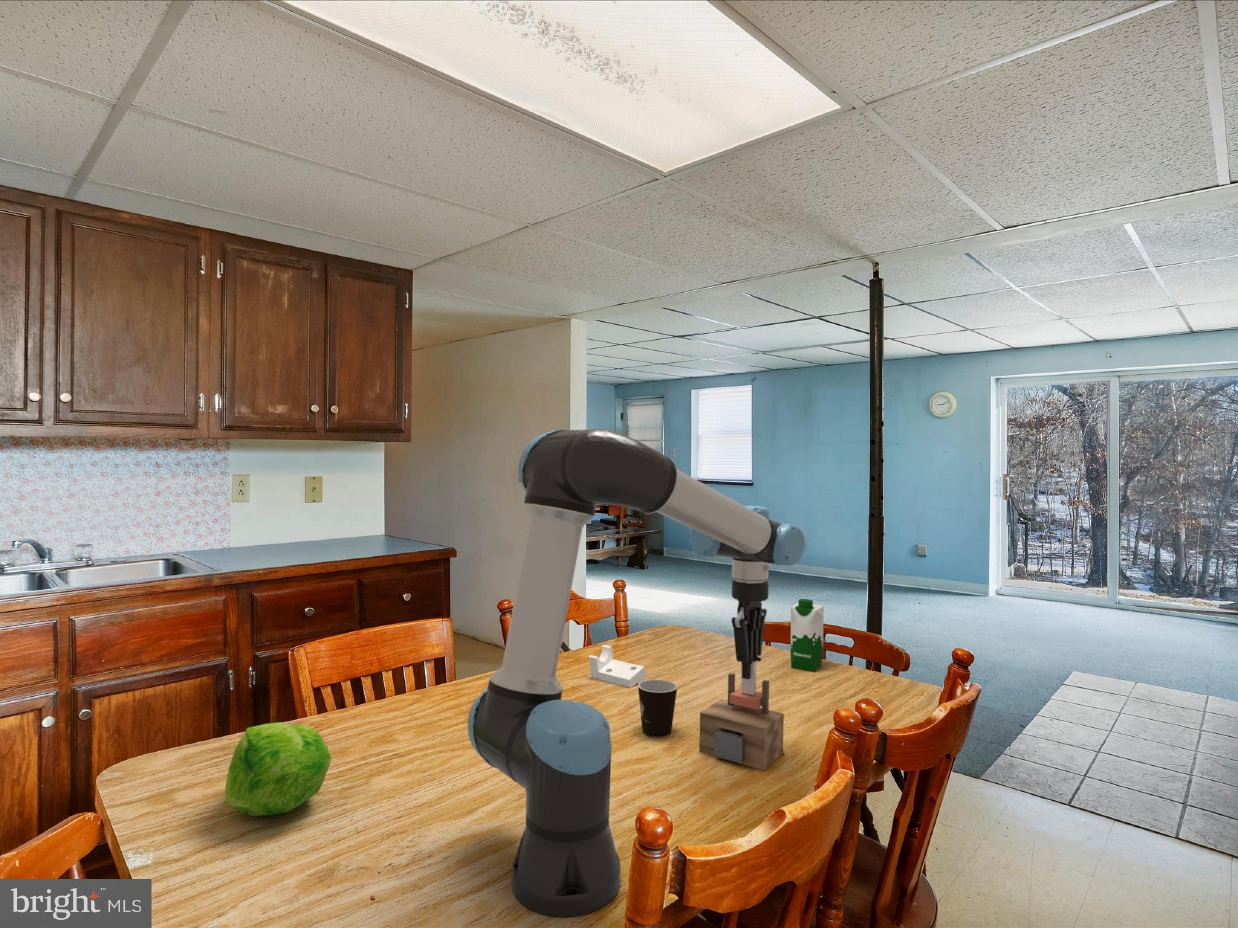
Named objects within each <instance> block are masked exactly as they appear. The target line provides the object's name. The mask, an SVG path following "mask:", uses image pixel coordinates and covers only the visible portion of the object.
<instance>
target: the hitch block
mask: <svg viewBox="0 0 1238 928" xmlns="http://www.w3.org/2000/svg"><path fill="white" fill-rule="evenodd" d="M727 677H728V678H727V680H728V681H727V699H722V698H721V699H719V700H717V701H716V702H714V703H713V704H711V705H710V706H708V707H706V708H705V709H703V710H702V711H700V712H699V743H698V744H699V748H698V749H699V752H700V753H702V754H705V755H708V756H709V755H710V756H713V757H717V758H721V759H724V760H728V761H730V762H735V763H737V764H740V765H744V766H747V767H751V768H753V769H754V768H755V769H757V770H760V771H761V770H762V771H765V770H766V769H767V768H768V767H770V765H772V763H773V762H775V761H776V760H777V759H778V758H779V757H780V756H781V755H782V754H783V753H784V720H785V719H784V715H785V713H783V712H779V711H774V710H769V709H770V708H769V707H770V706H769V703H770V702H769V700H770V680H768V679H767V680H766V679H764V680H762V682H761V693H762V706H761V707H759V708H758V709H753V708H749V707H744V706H740V705H736V704H732V703H730V694H731V693H733V692H734V691H736V690H735V689H736V674H735V673H733V672H730V673H728V674H727ZM717 729H718V730H722V731H726V732H730V733H733V732H739V733H742V734H743V736H745V758H744V762H743V763H739V762H736V761H732V760H729V759H726V758H722V757H719V756H715V755H714V731H715V730H717Z"/></svg>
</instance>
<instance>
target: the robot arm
mask: <svg viewBox="0 0 1238 928" xmlns="http://www.w3.org/2000/svg"><path fill="white" fill-rule="evenodd" d="M517 469H518V471H517V472H518V478H519V481H520V482H521V483H522V488H523V490H524V491H525V496H524V501H523V507H524V508H525V509H526V511H527V512H528V514H529V516H530V521H529V525H528V531H527V536H526V541H525V546H524V551H523V555H522V561H521V567H520V571H519V572H520V573H519V575H518V576H519V577H518V580H517V587H516V593H515V598H514V603H513V606H512V607H513V608H512V613H511V618H510V623H509V628H508V632H507V633H508V634H507V636H506V637H507V638H506V643H505V649H504V653H503V659H502V662H501V663H502V665H501V667H499V669H497V670H496V671H495V672H493V673H492V674H491V675H490V677H489V679H488V685H487V687H486V688H484V689H483V690H482V691H481V694H480V695H479V696H477V697H475V700H474V701H473V703H472V705H471V707H470V710H469V713H468V718H467V732H468V733H467V734H468V738H469V741H470V744H471V746H472V747H473V749H474V751H476V753H477V754H478V755H479V756H480V757H481V758H482V759H483V760H484V762H485V763H486V764H488V765H489V766H491V767H492V768H495V769H497V770H498V771H500V772H501V773H503V775H505V776H507V777H508V778H509V779H511V780H512V781H513V782H515V783H516V784H518V786H520V787H522V788H523V789H524V790H525V827H524V831H523V833H522V836H521V839H520V843H519V844H518V847H517V849H516V850H517V851H516V854H515V857H514V860H513V863H512V868H511V889H512V893H513V894H514V896H515V898H516V899H517V901H518V902H520V903H521V904H522V905H523V906H524V907H526V908H527V909H530V910H531V911H534V912H536V913H538V914H542V915H546V916H551V917H576V916H580V915H586V914H589V913H591V912H595V911H597V910H599V909H601V908H602V907H604V906H606V905H608V904H609V902H611V901H612V900H613V899H614V898H615V896H616V895H617V894H616V893H618V892H619V890H620V886H621V874H622V873H621V872H622V871H621V870H622V869H621V867H622V866H621V861H620V857H619V854H618V853H617V850H616V846H615V843H614V842H615V841H614V838H613V834H612V831H611V827H610V803H611V802H610V799H611V798H610V796H611V795H610V794H611V793H610V792H611V768H612V765H611V764H612V750H613V749H612V748H613V745H612V740H611V730H610V725H609V721H608V719H607V717H606V716H605V714H604V713H602V712H601V711H600V710H598V709H597V708H596V707H594V706H592V705H590V704H588V703H585V702H581V701H577V702H574V701H573V700H570V699H562V695H563V691H564V690H563V689H564V687H563V685H562V684H561V682H560V681H559V679H558V678H557V669H558V663H559V659H560V652H561V647H562V642H563V636H564V632H565V625H566V619H567V614H568V609H569V603H570V599H571V593H572V592H571V591H572V586H573V583H574V582H573V581H574V575H575V571H576V565H577V560H578V555H579V549H580V545H581V538H582V533H583V528H584V527H585V526H586V525H587V524H588V523H589V522H591V521H592V520H594V519H595V513H596V509H597V508H596V507H597V505H611V506H617V507H625V508H628V509H632V510H635V511H637V512H640V513H642V514H646V515H651V514H655V513H658V514H660V515H662V516H664V517H666V518H668V519H670V520H672V521H675V522H677V523H679V524H681V525H684V526H686V527H688V528H689V534H688V535H689V536H688V539H689V545H690V548H691V549H692V551H693V553H695V554H696V555H698V556H699V557H703V558H706V557H710V558H714V557H718V556H719V557H725V558H732V559H731V577H732V578H733V579H732V580H731V597H732V598H733V599H734V600H737V601H738V604H737V608H736V609H737V613H736V614H737V616H736V617H733V616H732V618H731V624H732V629H733V637H734V649H735V659H736V662H740V663H741V666H740V667H741V669H740V671H741V672H740V674H741V675H740V676H741V677H740V688H741V693H746V694H750V695H754V694H756V692H757V662H761V661H762V658H761V655H762V650H763V640H764V630H765V629H764V628H765V621H766V617H767V612H768V611H767V609H766V608H763V604H762V602H765V601H767V600H768V599H769V582H768V581H767V580H768V579H769V571H771V566H770V565H769V564H771V565H776V566H788V567H789V566H794V565H797V564H798V563H799V562H800V561H801V559H802V557H803V555H804V550H805V547H806V540H805V536H804V532H803V530H801V528H800V527H799V526H798V525H795V524H792V523H791V524H790V523H787V522H776V521H774V520H772V519H771V518H770V512H769V509H768V507H766V506H762V505H761V506H760V505H743V504H742V503H739V502H737V501H736V500H734V499H732V498H731V497H729V496H727V495H725V494H723V493H721V492H719V491H718V490H716V489H714V488H712V487H710V486H709V485H707V484H706V483H703V482H701V481H700V480H697V479H696V478H694V477H692V476H690V475H688V474H686V473H684V472H683V471H680V470H679V469H678V467H677V464H676V463H675V462H674V460H673V459H672V458H670V457H669V456H666V455H665V454H664V453H661V452H660V451H658V450H655V449H654V448H652V447H650V446H648V445H647V444H644V443H643V442H641V441H639V440H636V439H634V438H632V437H630V436H628V435H626V434H623V433H621V432H618V431H615V430H612V429H605V428H591V429H558V430H557V429H556V430H552V431H550V432H545V433H541V434H539V435H538V436H536V437H535V438H533V439H532V440H531V441H529V443H527V444H526V446H525V448H524V449H523V451H522V453H521V454H520V458H519V463H518V468H517ZM618 889H619V890H618Z"/></svg>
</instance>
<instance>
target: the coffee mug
mask: <svg viewBox="0 0 1238 928" xmlns="http://www.w3.org/2000/svg"><path fill="white" fill-rule="evenodd" d="M637 689H638V690H637V691H638V699H639V701H638V702H639V711H640V720H641V721H640V722H641V731H642V733H643V734H644V735H646V736H648V737H652V738H664V737H665V738H666V737H668V736H670V735H671V734H672V730H673V729H672V728H673V722H674V715H675V708H676V707H675V706H676V699H677V691H678V685H677V684H676V683H674V682H673V681H670V680H665V679H657V678H656V679H645V680H644V681H642V682H640V683H639V684H637Z"/></svg>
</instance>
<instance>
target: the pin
mask: <svg viewBox="0 0 1238 928" xmlns="http://www.w3.org/2000/svg"><path fill="white" fill-rule="evenodd" d="M714 755H715V756H714V757H716V756H719V757H718V758H720V757H722V758H721V759H723V758H726V759H729V760H728V761H730V760H732V761H731V762H733V761H736V762H735V763H737V762H739V763H738V764H740V763H743V762H744V758H745V736H743V734H742V733H739V732H733V733H730V732H726V731H722V730H718V729H717V730H715V731H714ZM726 759H725V760H726Z"/></svg>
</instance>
